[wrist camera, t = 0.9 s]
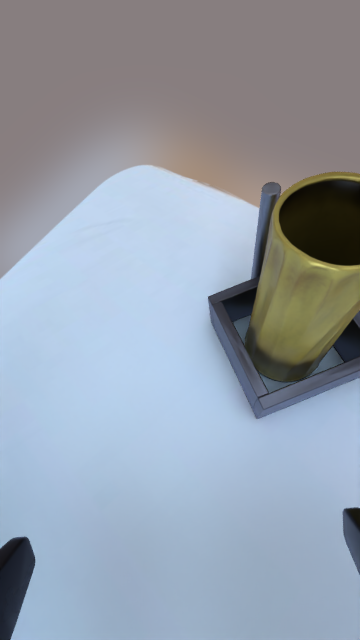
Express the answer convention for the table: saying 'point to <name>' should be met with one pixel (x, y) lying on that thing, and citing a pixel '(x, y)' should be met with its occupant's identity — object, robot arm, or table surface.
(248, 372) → the holder
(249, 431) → the table surface
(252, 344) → the vase
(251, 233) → the table surface
